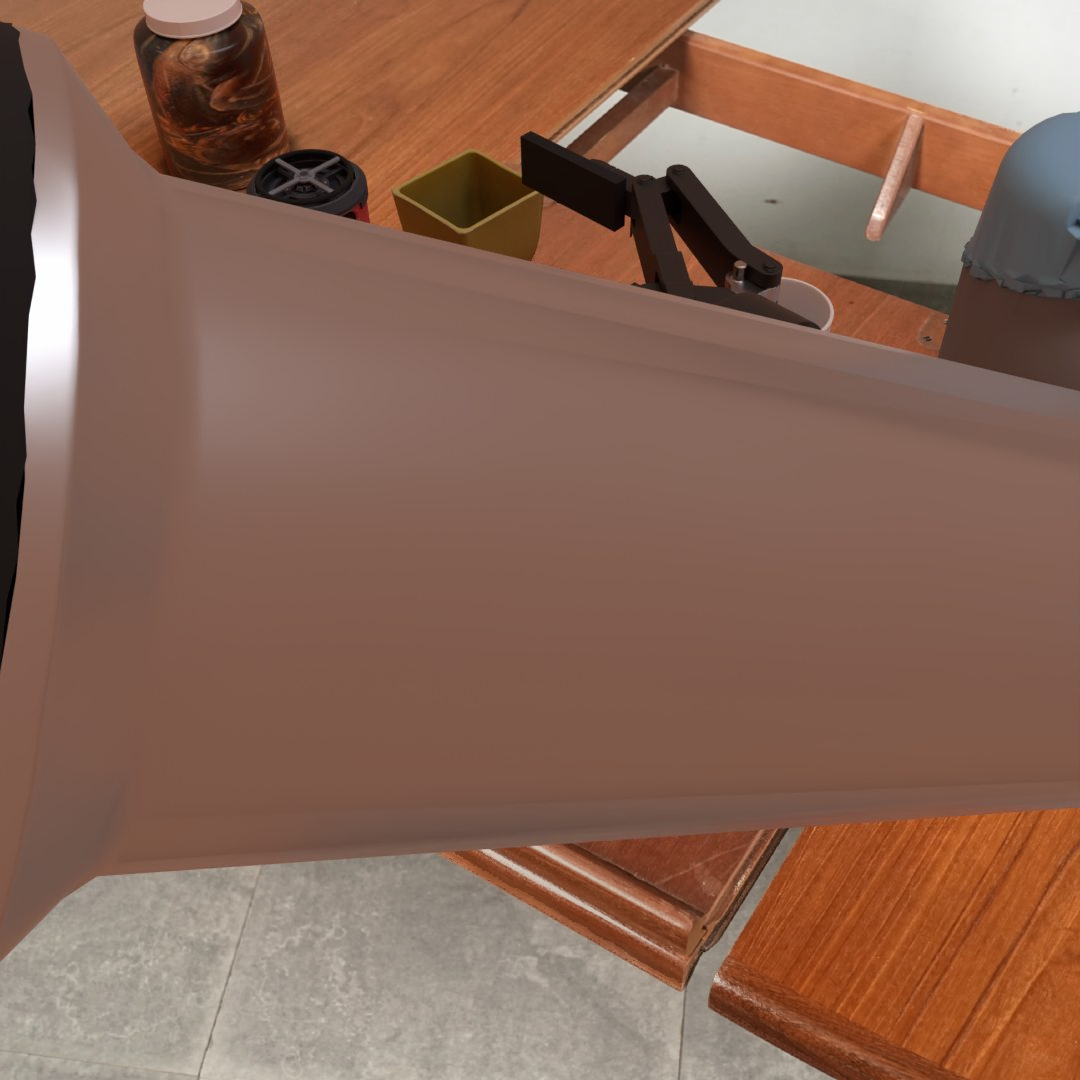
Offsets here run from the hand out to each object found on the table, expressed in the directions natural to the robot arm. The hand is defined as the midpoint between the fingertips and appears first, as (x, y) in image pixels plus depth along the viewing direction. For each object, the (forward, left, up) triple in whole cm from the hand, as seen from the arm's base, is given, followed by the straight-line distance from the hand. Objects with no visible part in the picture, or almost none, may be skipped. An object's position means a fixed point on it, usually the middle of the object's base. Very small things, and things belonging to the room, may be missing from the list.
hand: (428, 212), depth 59 cm
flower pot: (+20, +24, -27) cm, 41 cm away
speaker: (+4, +19, -26) cm, 33 cm away
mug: (+23, -3, -27) cm, 36 cm away
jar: (+15, +55, -27) cm, 63 cm away
